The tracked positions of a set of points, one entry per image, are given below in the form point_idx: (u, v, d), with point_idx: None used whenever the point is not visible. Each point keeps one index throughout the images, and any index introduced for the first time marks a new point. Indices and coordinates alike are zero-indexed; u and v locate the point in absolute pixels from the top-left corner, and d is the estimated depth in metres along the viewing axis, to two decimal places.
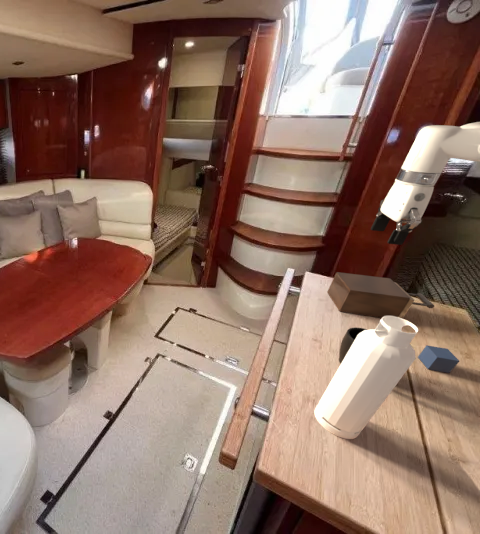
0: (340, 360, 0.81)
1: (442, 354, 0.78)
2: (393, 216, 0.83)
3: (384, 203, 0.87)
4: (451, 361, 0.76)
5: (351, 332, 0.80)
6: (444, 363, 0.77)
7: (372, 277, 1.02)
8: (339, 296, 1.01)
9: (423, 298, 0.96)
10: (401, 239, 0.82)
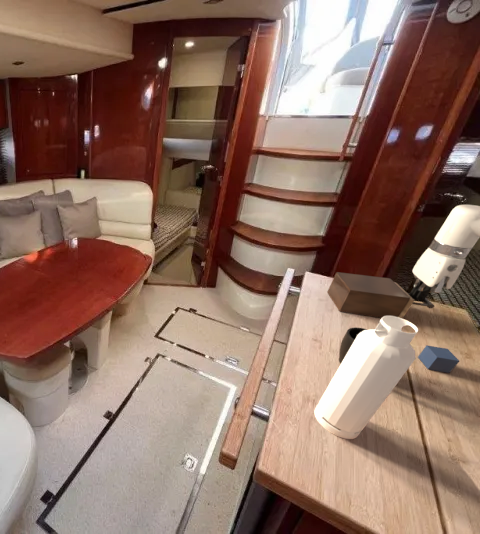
0: (340, 360, 0.81)
1: (442, 354, 0.78)
2: (426, 281, 0.91)
3: (416, 266, 0.95)
4: (451, 361, 0.76)
5: (351, 332, 0.80)
6: (444, 363, 0.77)
7: (372, 277, 1.02)
8: (339, 296, 1.01)
9: None
10: (422, 297, 0.94)
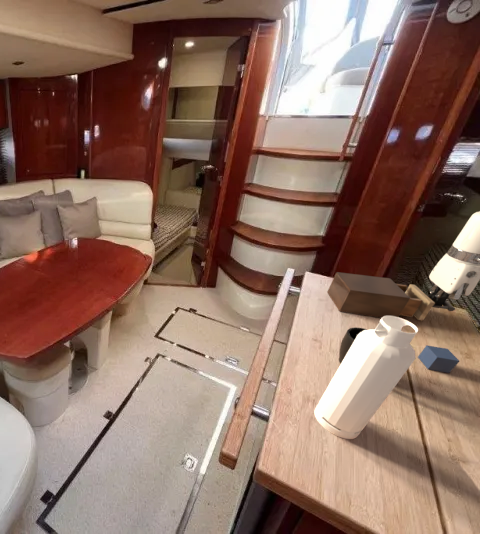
0: (340, 360, 0.81)
1: (442, 354, 0.78)
2: (444, 287, 0.90)
3: (433, 272, 0.94)
4: (451, 361, 0.76)
5: (351, 332, 0.80)
6: (444, 363, 0.77)
7: (372, 277, 1.02)
8: (339, 296, 1.01)
9: None
10: (440, 304, 0.94)
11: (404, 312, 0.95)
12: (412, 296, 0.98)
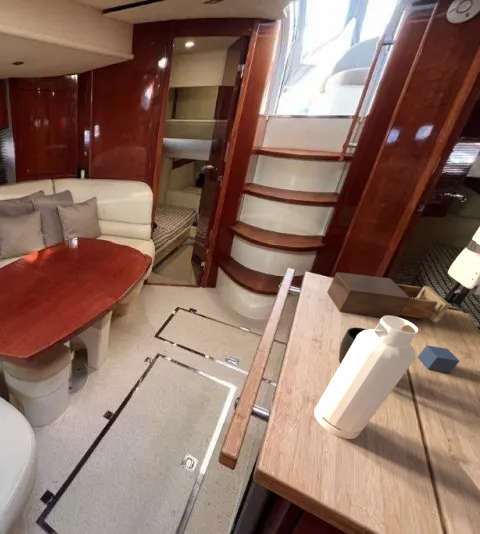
0: (340, 360, 0.81)
1: (442, 354, 0.78)
2: (464, 283, 0.88)
3: (452, 267, 0.92)
4: (451, 361, 0.76)
5: (351, 332, 0.80)
6: (444, 363, 0.77)
7: (372, 277, 1.02)
8: (339, 296, 1.01)
9: None
10: (460, 300, 0.91)
11: (418, 314, 0.94)
12: (426, 298, 0.97)
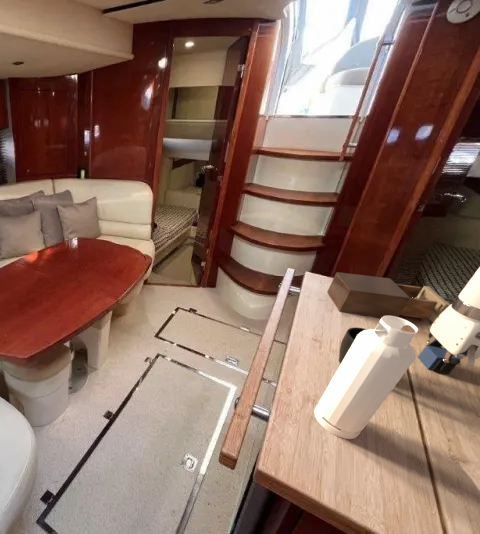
0: (340, 360, 0.81)
1: (442, 354, 0.78)
2: (448, 347, 0.74)
3: (435, 325, 0.79)
4: None
5: (351, 332, 0.80)
6: None
7: (372, 277, 1.02)
8: (339, 296, 1.01)
9: None
10: (448, 370, 0.76)
11: (418, 314, 0.94)
12: (426, 298, 0.97)
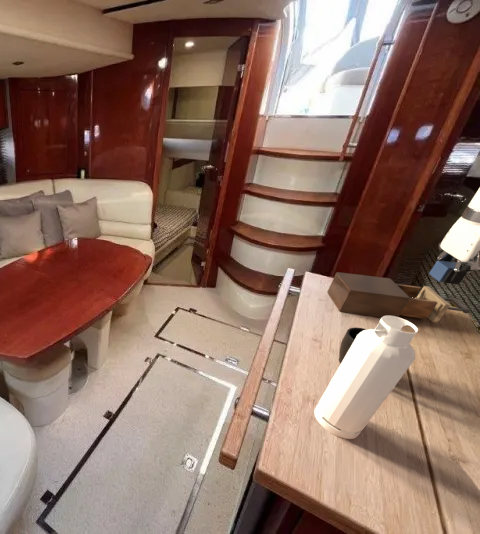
0: (340, 360, 0.81)
1: (452, 266, 0.83)
2: (458, 255, 0.80)
3: (445, 240, 0.84)
4: None
5: (351, 332, 0.80)
6: None
7: (372, 277, 1.02)
8: (339, 296, 1.01)
9: (458, 303, 0.94)
10: (459, 279, 0.81)
11: (418, 314, 0.94)
12: (426, 298, 0.97)
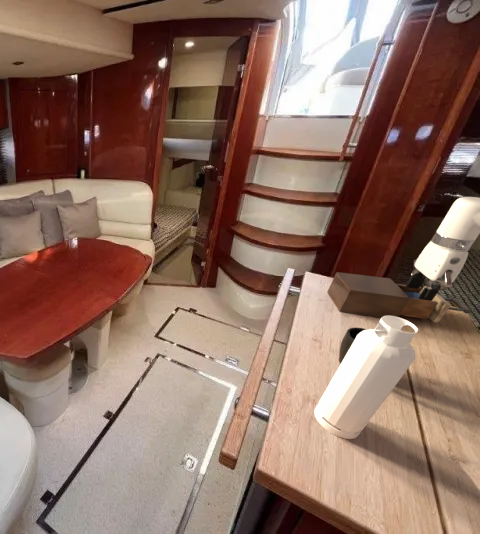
0: (340, 360, 0.81)
1: (416, 296, 0.96)
2: (428, 275, 0.90)
3: (418, 260, 0.94)
4: None
5: (351, 332, 0.80)
6: None
7: (372, 277, 1.02)
8: (339, 296, 1.01)
9: (458, 303, 0.93)
10: (431, 296, 0.91)
11: (419, 314, 0.94)
12: None
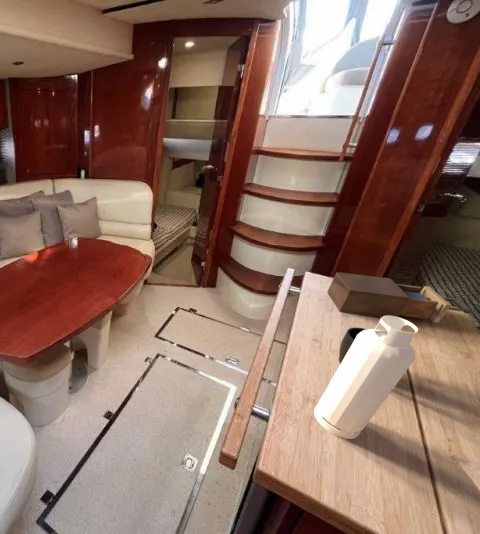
0: (340, 360, 0.81)
1: (416, 296, 0.96)
2: None
3: None
4: None
5: (351, 332, 0.80)
6: None
7: (372, 277, 1.02)
8: (339, 296, 1.01)
9: (459, 303, 0.93)
10: None
11: (419, 314, 0.94)
12: (427, 298, 0.97)
